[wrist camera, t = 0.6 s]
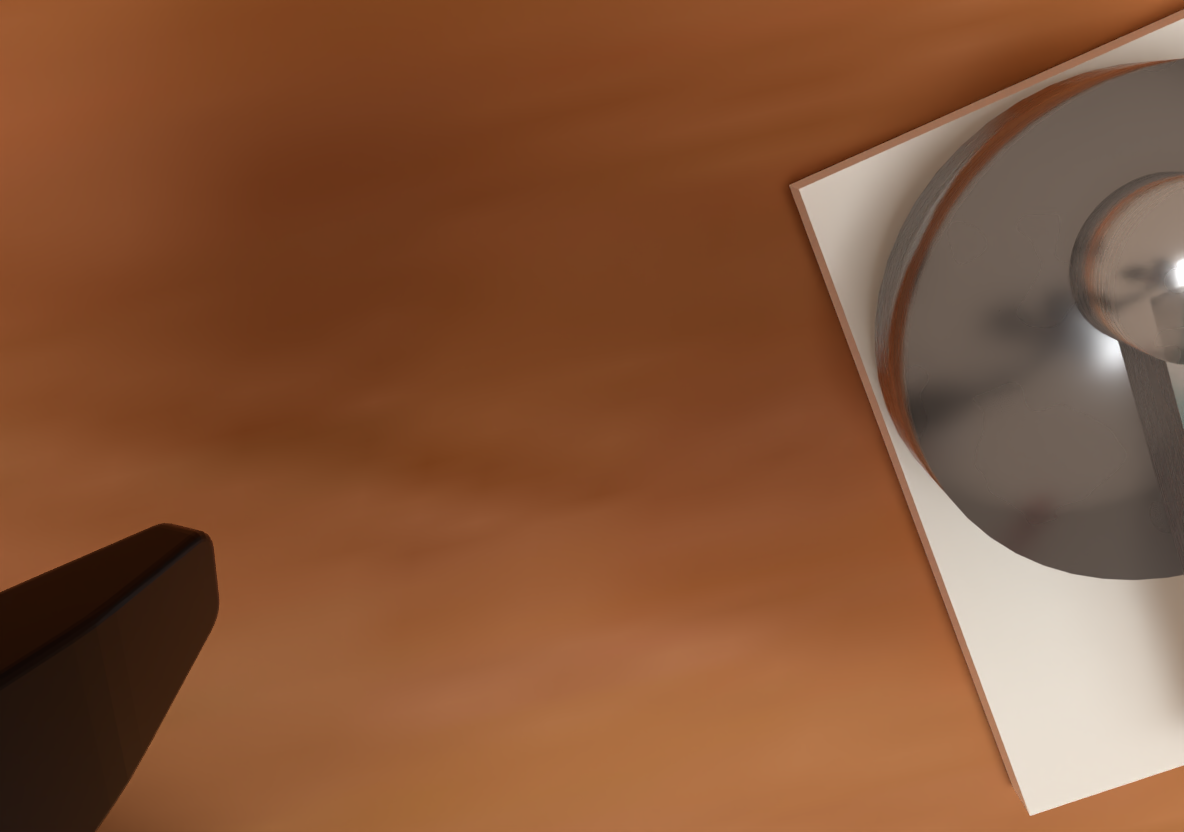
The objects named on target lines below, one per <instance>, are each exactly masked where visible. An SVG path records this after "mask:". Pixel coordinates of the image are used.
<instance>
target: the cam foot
mask: <svg viewBox="0 0 1184 832" xmlns="http://www.w3.org/2000/svg"><path fill="white" fill-rule="evenodd" d="M875 357H876V364H877V372H878V379H879V383H880V387H881V390H882V394H883V397H884V401H885V404H886V408H887V410H888V412H889V415H890V417H891V419H892V421H893V423H894V426H895V428H896V430H897V432H898V434H899V436H900V437H901V439H902V440H903V442H904V443H905V445H906V447H907V448H908V450H909V451H910V453H911V454H912V456H913V457H914V458H915V459H916V460H917V462H918V463H919V464H920V465H921V466H922V467H923V468H924V470H925V471H926V472H927V473H928V474H929V475H930V476H931V478H932V479H933V480H934V481H935V482H936V483H937V484H938V485H939V487H940V488H941V489H942V490H943V491H944V492H945V493H946V494H947V496H948V497H949V498H950V499H951V500H952V501H953V502H954V504H955V505H956V506H957V507H958V508H959V509H960V510H961V511H962V513H963V514H964V515H965V516H966V517H967V518H968V519H969V520H970V521H971V522H973V523H974V524H975V525H976V526H977V527H979V528H980V529H981V530H982V531H983V532H984V533H986V534H987V535H988V536H989V537H990V538H992V539H994V540H995V541H997V542H998V543H1000V544H1002V545H1003V546H1005V547H1006V548H1008V549H1010V550H1011V551H1013V552H1014V553H1016V554H1019V555H1021V556H1023V557H1025V558H1027V559H1030V560H1032V561H1034V562H1036V563H1039V564H1041V565H1043V566H1047V567H1050V568H1054V569H1057V570H1060V571H1064V572H1067V573H1071V574H1075V575H1082V576H1088V577H1094V578H1100V579H1117V580H1145V579H1158V578H1169V577H1174V576H1180V575H1183V576H1184V58H1182V59H1170V60H1159V61H1148V62H1138V63H1128V64H1119V65H1115V66H1110V67H1106V68H1102V69H1097V70H1093V71H1089V72H1085V73H1082V74H1079V75H1077V76H1074V77H1071V78H1068V79H1066V80H1063V81H1060V82H1058V83H1055V84H1052V85H1050V86H1048V87H1046V88H1044V89H1042V90H1040V91H1038V92H1036V93H1034V94H1033V95H1031V96H1029V97H1027V98H1025V99H1023V100H1021V101H1019V102H1017V103H1016V104H1014V105H1013V106H1012V107H1010V108H1009V109H1007V110H1006V111H1004V112H1003V113H1001V114H1000V115H998V116H997V117H995V118H994V119H992V120H991V121H989V122H988V123H987V124H986V125H985V126H983V127H982V128H981V129H980V130H979V131H978V132H976V133H975V134H974V135H973V136H972V137H971V138H969V139H968V140H967V141H966V142H965V143H964V144H963V145H961V146H960V147H959V149H958V150H957V151H956V152H955V153H954V154H953V155H952V156H951V157H950V158H949V159H948V161H947V162H946V163H945V164H944V165H943V166H942V167H941V168H940V169H939V170H938V171H937V173H936V174H935V175H934V177H933V178H932V180H931V181H930V182H929V184H928V185H927V186H926V188H925V189H924V191H923V192H922V193H921V195H920V196H919V198H918V199H917V200H916V202H915V204H914V206H913V207H912V209H911V211H910V213H909V215H908V216H907V218H906V220H905V222H904V224H903V225H902V227H901V229H900V231H899V234H898V236H897V238H896V241H895V243H894V246H893V248H892V251H891V253H890V255H889V258H888V260H887V264H886V268H885V271H884V275H883V279H882V282H881V286H880V290H879V296H878V303H877V310H876V318H875Z"/></svg>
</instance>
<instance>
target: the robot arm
mask: <svg viewBox="0 0 1184 832" xmlns="http://www.w3.org/2000/svg"><path fill="white" fill-rule="evenodd" d="M218 610H219V592H218V583H217V574H216V565H215V556H214V547H213V543H212V540H211V539H210V537H209V536H208V534H206V533H204V532H203V531H199V530H195V529H191V528H187V527H183V526H179V525H174V524H169V523H163V524H158V525H155V526H152V527H150V528H148V529H145V530H143V531H141V532H138V533H136V534H134V535H131V536H129V537H127V538H125V539H122V540H120V541H118V542H115V543H113V544H111V545H108V546H106V547H104V548H101V549H99V550H97V551H94V552H92V553H90V554H87V555H85V556H83V557H81V558H78V559H76V560H74V561H71V562H69V563H67V564H64V565H62V566H60V567H57V568H55V569H53V570H50V571H48V572H46V573H43V574H41V575H39V576H37V577H34V578H32V579H30V580H27V581H25V582H23V583H20V584H18V585H16V586H13V587H11V588H9V589H6V590H4V591H2V592H0V832H96V831H97V829H98V828H99V826H100V825H101V823H102V822H103V820H104V819H105V817H106V816H107V814H108V813H109V811H110V810H111V809H112V807H113V805H114V804H115V802H116V801H117V799H118V798H119V796H120V795H121V793H122V792H123V790H124V788H125V787H126V785H127V784H128V782H129V781H130V779H131V777H132V775H133V774H134V772H135V770H136V768H137V767H138V765H139V763H140V762H141V760H142V758H143V756H144V754H145V753H146V751H147V749H148V747H149V745H150V743H151V742H152V740H153V738H154V736H155V734H156V732H157V730H158V729H159V727H160V725H161V723H162V721H163V719H164V717H165V716H166V714H167V712H168V710H169V708H170V706H171V704H172V703H173V701H174V699H175V697H176V695H177V693H178V691H179V690H180V688H181V686H182V684H183V682H184V680H185V679H186V677H187V675H188V673H189V671H190V669H191V667H192V666H193V664H194V662H195V660H196V658H197V656H198V654H199V653H200V651H201V649H202V647H203V645H204V643H205V641H206V640H207V638H208V636H209V634H210V632H211V630H212V628H213V626H214V624H215V621H216V618H217V614H218Z"/></svg>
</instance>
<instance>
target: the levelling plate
mask: <svg viewBox="0 0 1184 832" xmlns="http://www.w3.org/2000/svg"><path fill="white" fill-rule="evenodd" d="M1182 58H1184V9H1183V10H1181V11H1178V12H1176V13H1174V14H1172V15H1170V16H1167V17H1165V18H1163V19H1161V20H1158V21H1156V22H1154V23H1152V24H1149V25H1147V26H1145V27H1143V28H1140V29H1138V30H1136V31H1134V32H1131V33H1129V34H1127V35H1125V36H1122V37H1120V38H1118V39H1116V40H1113V41H1111V42H1109V43H1107V44H1104V45H1102V46H1100V47H1098V48H1095V49H1093V50H1091V51H1089V52H1086V53H1084V54H1082V55H1080V56H1077V57H1075V58H1073V59H1071V60H1069V61H1066V62H1064V63H1062V64H1060V65H1057V66H1055V67H1053V68H1051V69H1048V70H1046V71H1044V72H1042V73H1039V74H1037V75H1035V76H1033V77H1030V78H1028V79H1026V80H1024V81H1021V82H1019V83H1017V84H1015V85H1012V86H1010V87H1008V88H1006V89H1003V90H1001V91H999V92H997V93H994V94H992V95H990V96H988V97H985V98H983V99H981V100H979V101H976V102H974V103H972V104H970V105H968V106H965V107H963V108H961V109H959V110H956V111H954V112H952V113H950V114H947V115H945V116H943V117H941V118H938V119H936V120H934V121H932V122H929V123H927V124H925V125H923V126H920V127H918V128H916V129H914V130H911V131H909V132H907V133H905V134H902V135H900V136H898V137H896V138H893V139H891V140H889V141H887V142H884V143H882V144H880V145H878V146H875V147H873V148H871V149H869V150H866V151H864V152H862V153H860V154H858V155H855V156H853V157H851V158H849V159H846V160H844V161H842V162H840V163H837V164H835V165H833V166H831V167H828V168H826V169H824V170H822V171H819V172H817V173H815V174H813V175H810V176H808V177H806V178H804V179H801V180H799V181H797V182H795V183H792V184H790V185H789V187H790V189H791V192H792V195H793V198H794V200H795V203H796V206H797V208H798V211H799V214H800V216H801V219H802V222H803V224H804V227H805V230H806V232H807V235H808V238H809V241H810V243H811V246H812V249H813V251H814V254H815V257H816V259H817V262H818V265H819V267H820V270H821V273H822V276H823V278H824V281H825V284H826V286H827V289H828V292H829V294H830V297H831V300H832V302H833V305H834V308H835V311H836V313H837V316H838V319H839V321H840V324H841V327H842V329H843V332H844V335H845V337H846V340H847V343H848V346H849V348H850V351H851V354H852V356H853V359H854V362H855V364H856V367H857V370H858V372H859V375H860V378H861V380H862V383H863V386H864V389H865V391H866V394H867V397H868V399H869V402H870V405H871V407H872V410H873V413H874V415H875V418H876V421H877V424H878V426H879V429H880V432H881V434H882V437H883V440H884V442H885V445H886V448H887V450H888V453H889V456H890V459H891V461H892V464H893V467H894V469H895V472H896V475H897V477H898V480H899V483H900V485H901V488H902V491H903V493H904V496H905V499H906V502H907V504H908V507H909V510H910V512H911V515H912V518H913V520H914V523H915V526H916V528H917V531H918V534H919V537H920V539H921V542H922V545H923V547H924V550H925V553H926V555H927V558H928V561H929V563H930V566H931V569H932V572H933V574H934V577H935V580H936V582H937V585H938V588H939V590H940V593H941V596H942V598H943V601H944V604H945V607H946V609H947V612H948V615H949V617H950V620H951V623H952V625H953V628H954V631H955V633H956V636H957V639H958V641H959V644H960V647H961V650H962V652H963V655H964V658H965V660H966V663H967V666H968V668H969V671H970V674H971V676H972V679H973V682H974V685H975V687H976V690H977V693H978V695H979V698H980V701H981V703H982V706H983V709H984V711H985V714H986V717H987V720H988V722H989V725H990V728H991V730H992V733H993V736H994V738H995V741H996V744H997V746H998V749H999V752H1000V754H1001V757H1002V760H1003V763H1004V765H1005V768H1006V771H1007V773H1008V776H1009V779H1010V781H1011V784H1012V787H1013V788H1014V790H1015V792H1016V793H1017V795H1018V797H1019V798H1020V800H1021V802H1022V803H1023V805H1024V807H1025V808H1026V810H1027V812H1028V813H1029V815H1030V816H1031V815H1034V814H1037V813H1040V812H1043V811H1046V810H1049V809H1052V808H1055V807H1058V806H1061V805H1064V804H1067V803H1070V802H1074V801H1077V800H1080V799H1083V798H1086V797H1089V796H1092V795H1095V794H1098V793H1101V792H1104V791H1107V790H1110V789H1113V788H1116V787H1119V786H1122V785H1125V784H1128V783H1131V782H1134V781H1137V780H1140V779H1143V778H1146V777H1149V776H1152V775H1155V774H1158V773H1161V772H1164V771H1167V770H1170V769H1174V768H1177V767H1180V766H1183V765H1184V576H1183V575H1180V576H1174V577H1169V578H1158V579H1145V580H1117V579H1100V578H1094V577H1088V576H1082V575H1075V574H1071V573H1067V572H1064V571H1060V570H1057V569H1054V568H1050V567H1047V566H1043V565H1041V564H1039V563H1036V562H1034V561H1032V560H1030V559H1027V558H1025V557H1023V556H1021V555H1019V554H1016V553H1014V552H1013V551H1011V550H1010V549H1008V548H1006V547H1005V546H1003V545H1002V544H1000V543H998V542H997V541H995V540H994V539H992V538H990V537H989V536H988V535H987V534H986V533H984V532H983V531H982V530H981V529H980V528H979V527H977V526H976V525H975V524H974V523H973V522H971V521H970V520H969V519H968V518H967V517H966V516H965V515H964V514H963V513H962V511H961V510H960V509H959V508H958V507H957V506H956V505H955V504H954V502H953V501H952V500H951V499H950V498H949V497H948V496H947V494H946V493H945V492H944V491H943V490H942V489H941V488H940V487H939V485H938V484H937V483H936V482H935V481H934V480H933V479H932V478H931V476H930V475H929V474H928V473H927V472H926V471H925V470H924V468H923V467H922V466H921V465H920V464H919V463H918V462H917V460H916V459H915V458H914V457H913V456H912V454H911V453H910V451H909V450H908V448H907V447H906V445H905V443H904V442H903V440H902V439H901V437H900V436H899V434H898V432H897V430H896V428H895V426H894V423H893V421H892V419H891V417H890V415H889V412H888V410H887V408H886V404H885V401H884V397H883V394H882V390H881V387H880V383H879V379H878V372H877V364H876V357H875V318H876V310H877V303H878V296H879V290H880V286H881V282H882V279H883V275H884V271H885V268H886V264H887V260H888V258H889V255H890V253H891V251H892V248H893V246H894V243H895V241H896V238H897V236H898V234H899V231H900V229H901V227H902V225H903V224H904V222H905V220H906V218H907V216H908V215H909V213H910V211H911V209H912V207H913V206H914V204H915V202H916V200H917V199H918V198H919V196H920V195H921V193H922V192H923V191H924V189H925V188H926V186H927V185H928V184H929V182H930V181H931V180H932V178H933V177H934V175H935V174H936V173H937V171H938V170H939V169H940V168H941V167H942V166H943V165H944V164H945V163H946V162H947V161H948V159H949V158H950V157H951V156H952V155H953V154H954V153H955V152H956V151H957V150H958V149H959V147H960V146H961V145H963V144H964V143H965V142H966V141H967V140H968V139H969V138H971V137H972V136H973V135H974V134H975V133H976V132H978V131H979V130H980V129H981V128H982V127H983V126H985V125H986V124H987V123H988V122H989V121H991V120H992V119H994V118H995V117H997V116H998V115H1000V114H1001V113H1003V112H1004V111H1006V110H1007V109H1009V108H1010V107H1012V106H1013V105H1014V104H1016V103H1017V102H1019V101H1021V100H1023V99H1025V98H1027V97H1029V96H1031V95H1033V94H1034V93H1036V92H1038V91H1040V90H1042V89H1044V88H1046V87H1048V86H1050V85H1052V84H1055V83H1058V82H1060V81H1063V80H1066V79H1068V78H1071V77H1074V76H1077V75H1079V74H1082V73H1085V72H1089V71H1093V70H1097V69H1102V68H1106V67H1110V66H1115V65H1119V64H1128V63H1138V62H1148V61H1159V60H1170V59H1182Z"/></svg>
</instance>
